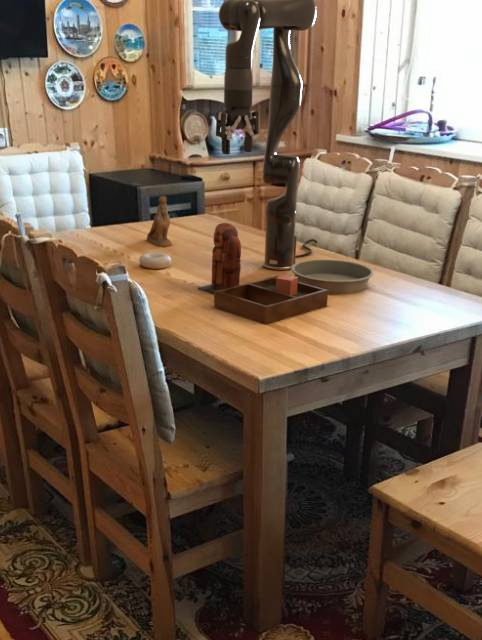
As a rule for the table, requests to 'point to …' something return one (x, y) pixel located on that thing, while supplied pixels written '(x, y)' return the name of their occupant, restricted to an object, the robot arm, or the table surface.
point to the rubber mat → (208, 289)
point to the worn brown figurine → (160, 224)
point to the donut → (155, 260)
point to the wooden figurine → (226, 257)
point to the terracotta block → (287, 284)
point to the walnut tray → (269, 300)
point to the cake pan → (333, 275)
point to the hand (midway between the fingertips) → (237, 152)
